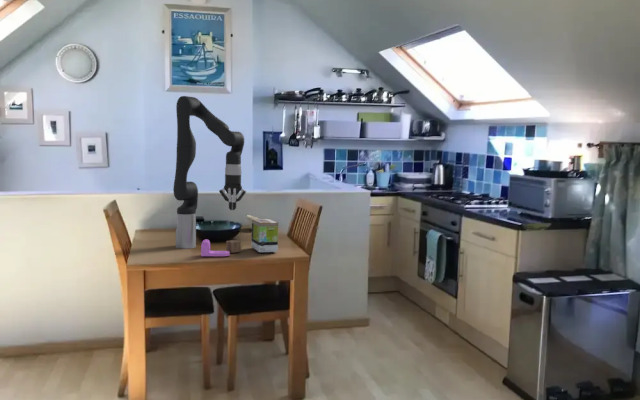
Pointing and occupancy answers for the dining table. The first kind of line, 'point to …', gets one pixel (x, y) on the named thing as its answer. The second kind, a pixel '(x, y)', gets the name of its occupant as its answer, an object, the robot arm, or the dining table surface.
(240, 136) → the robot arm
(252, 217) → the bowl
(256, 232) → the tea box
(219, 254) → the bracket
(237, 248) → the walnut block
